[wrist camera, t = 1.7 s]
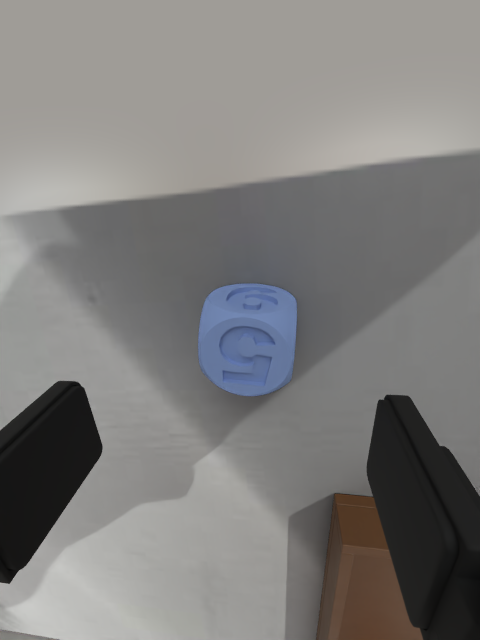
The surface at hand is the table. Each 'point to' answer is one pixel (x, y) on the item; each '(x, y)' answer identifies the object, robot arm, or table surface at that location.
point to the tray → (361, 578)
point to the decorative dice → (248, 338)
